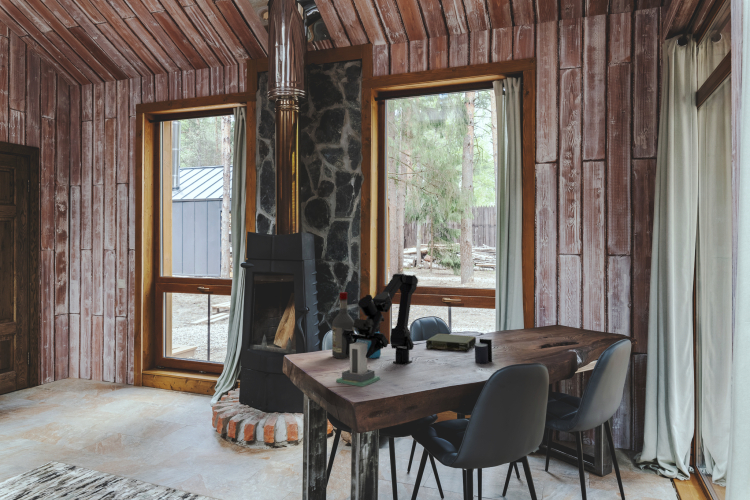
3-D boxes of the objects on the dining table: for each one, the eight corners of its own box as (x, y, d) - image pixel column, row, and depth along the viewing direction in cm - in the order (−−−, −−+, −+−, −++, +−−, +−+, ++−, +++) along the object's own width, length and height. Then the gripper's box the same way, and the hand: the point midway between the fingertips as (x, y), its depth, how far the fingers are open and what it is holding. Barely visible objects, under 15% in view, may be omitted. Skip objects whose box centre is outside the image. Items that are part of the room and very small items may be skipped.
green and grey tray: (354, 375, 196) (354, 366, 196) (379, 379, 189) (379, 370, 189) (336, 382, 186) (336, 372, 186) (362, 386, 179) (362, 377, 179)
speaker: (481, 359, 223) (481, 337, 222) (492, 361, 219) (492, 339, 218) (472, 363, 217) (471, 341, 216) (483, 366, 214) (483, 343, 212)
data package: (357, 354, 234) (357, 329, 234) (364, 353, 237) (364, 328, 237) (373, 359, 225) (373, 332, 225) (380, 357, 227) (380, 331, 227)
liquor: (348, 353, 235) (348, 291, 235) (356, 357, 227) (356, 293, 227) (330, 355, 232) (330, 292, 232) (337, 359, 223) (337, 293, 223)
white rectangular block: (356, 375, 191) (356, 342, 191) (367, 377, 188) (367, 343, 188) (349, 378, 187) (349, 344, 187) (360, 380, 184) (360, 345, 184)
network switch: (424, 350, 245) (424, 340, 245) (433, 342, 268) (433, 332, 268) (471, 353, 238) (471, 343, 238) (476, 344, 261) (476, 335, 261)
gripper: (344, 309, 196) (327, 341, 186) (384, 312, 186) (368, 346, 177) (355, 326, 203) (339, 358, 193) (394, 330, 193) (380, 363, 183)
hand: (356, 356), depth 186 cm, fingers open, 9 cm apart
